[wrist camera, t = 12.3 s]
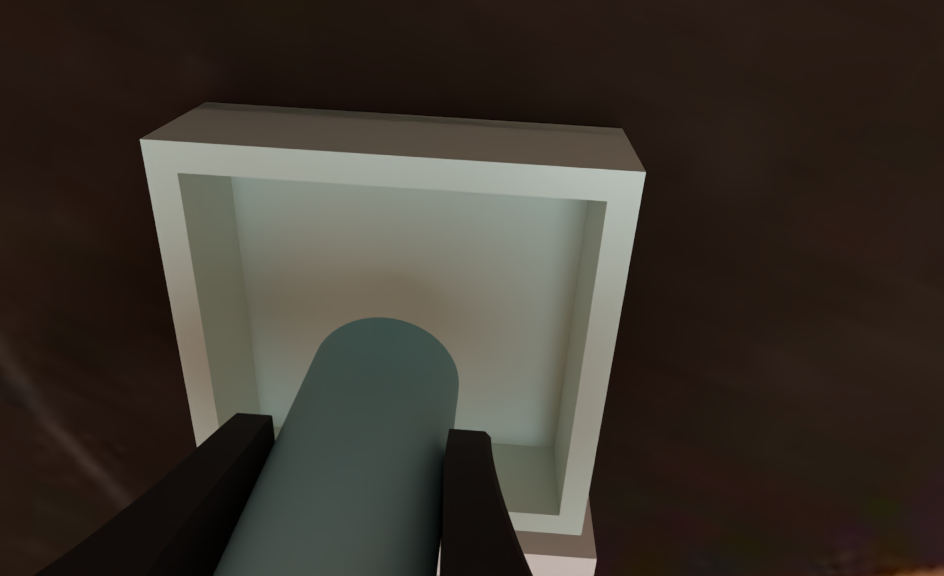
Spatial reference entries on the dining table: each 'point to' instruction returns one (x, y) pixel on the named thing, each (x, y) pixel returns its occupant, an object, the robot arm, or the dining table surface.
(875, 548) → the dining table surface
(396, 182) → the tray
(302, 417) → the dowel
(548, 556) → the pale grey box
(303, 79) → the dining table surface
